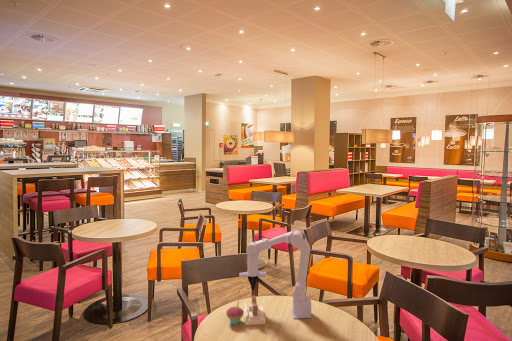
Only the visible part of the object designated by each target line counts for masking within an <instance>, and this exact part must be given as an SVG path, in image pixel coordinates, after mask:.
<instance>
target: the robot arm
mask: <svg viewBox="0 0 512 341" xmlns="http://www.w3.org/2000/svg"><path fill="white" fill-rule="evenodd" d="M281 243H286V244H289V245H290V244H291V245H292V246H293V247H295V248H296V249H297V250H299V252H300V255H299V263H298V268H297V276H296V277H297V278H296V283H295V286H294V289H293V292H292V309H290V313H291V315H292V318H293V319H295V320H297V319H311V318H312V299H311V298H310V297H309V296H308V297H307V295H306V293H307V289H308V288H307V284H306V282H307V274H308V267H309V262H310V255H311V246H310V242H309V241H308V239H307V235H306V234H305V233H304V232H303V231H302V230H301V229H296V230H294V231H293V230H291V231H289V232H286V233H283V234H281V235H277V236H275V237H273V238H270V239H269V238H267V237H266V238H265V237H262V238H261V239H259V240H258V241H256V240H254V241H252V242H250V243H249V245H247V247H246V250H245V251H246V253H247V264H246V265H247V271H244V272H243V271H242V272H239V273H238V274H239V276H238V277H239V278H247V279H248V282H249V286H250V288H251V291H254V290H255V286H256V284H257V282H258V279H259V277H265V278H266V277H267V272H266V271H259V253H260V252H265V251H267V250H270V249H271V248H272V246H274V245H278V244H281Z"/></svg>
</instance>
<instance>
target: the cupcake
mask: <svg viewBox="0 0 512 341" xmlns="http://www.w3.org/2000/svg"><path fill="white" fill-rule="evenodd" d="M239 303H240V299H237V303H236V306H231V307H230V308H228V309H227V310H226V312H225V313H226V317H227V318H228V320H229V321H230V324H232V325H238V324H240V322H241V319H242V317H244V309H242V308H241V307H239Z"/></svg>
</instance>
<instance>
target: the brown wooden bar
mask: <svg viewBox="0 0 512 341" xmlns="http://www.w3.org/2000/svg"><path fill="white" fill-rule="evenodd" d="M250 301H251V302H250V304H251V306H252V312H253V316H257V304H258V303H257V297H256V295H251V299H250Z"/></svg>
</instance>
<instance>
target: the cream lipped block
mask: <svg viewBox="0 0 512 341" xmlns="http://www.w3.org/2000/svg"><path fill="white" fill-rule="evenodd" d="M243 306H244V307H243V311H244V312H243V317H244V325H245V326H253V325H254V326H256V325H266V317H265V312H264V308H263V306H261V307H260V306H259V304H258V303H257V316H253V312H252V306H251V303H250V304H248V306H247V302H244V305H243Z"/></svg>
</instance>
